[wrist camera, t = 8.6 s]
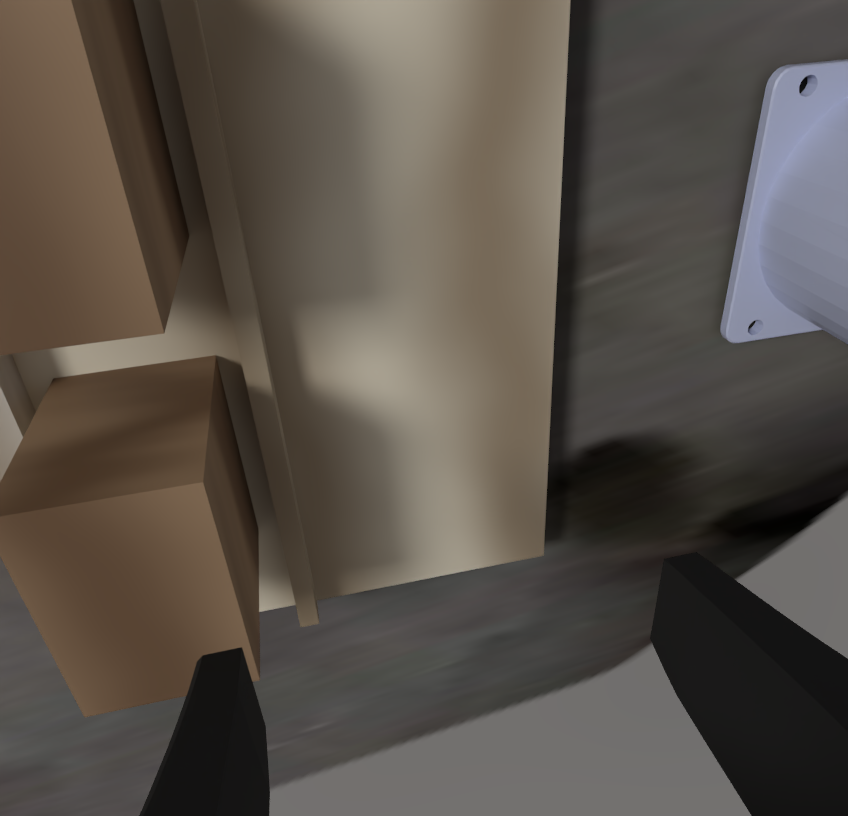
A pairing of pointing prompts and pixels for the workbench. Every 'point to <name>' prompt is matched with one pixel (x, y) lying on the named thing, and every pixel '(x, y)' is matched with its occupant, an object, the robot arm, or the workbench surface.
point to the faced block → (134, 531)
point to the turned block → (82, 179)
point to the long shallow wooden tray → (361, 275)
